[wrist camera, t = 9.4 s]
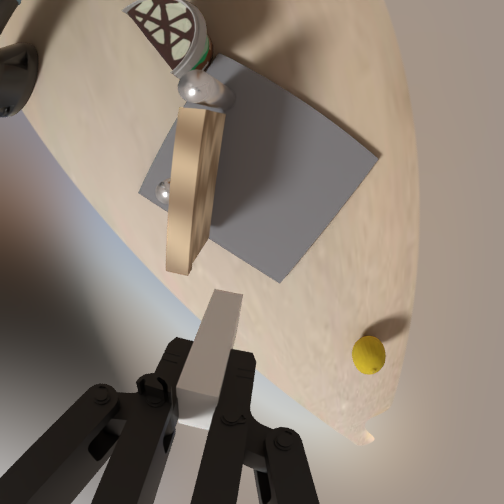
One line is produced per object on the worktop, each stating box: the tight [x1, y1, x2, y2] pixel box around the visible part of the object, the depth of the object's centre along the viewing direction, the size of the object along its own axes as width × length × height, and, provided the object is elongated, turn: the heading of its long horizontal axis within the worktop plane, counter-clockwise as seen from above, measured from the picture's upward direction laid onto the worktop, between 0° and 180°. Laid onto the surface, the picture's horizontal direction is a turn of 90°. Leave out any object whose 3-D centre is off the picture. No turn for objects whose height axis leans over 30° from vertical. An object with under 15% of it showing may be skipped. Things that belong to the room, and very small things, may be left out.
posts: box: [156, 70, 236, 204], centre depth 28 cm, size 3×14×13 cm, turn 157°
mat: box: [138, 53, 378, 283], centre depth 35 cm, size 24×22×1 cm
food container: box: [122, 0, 213, 79], centre depth 24 cm, size 12×6×10 cm, turn 34°
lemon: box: [352, 336, 386, 374], centre depth 41 cm, size 6×6×8 cm
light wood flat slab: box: [166, 107, 226, 276], centre depth 30 cm, size 16×2×10 cm, turn 171°
